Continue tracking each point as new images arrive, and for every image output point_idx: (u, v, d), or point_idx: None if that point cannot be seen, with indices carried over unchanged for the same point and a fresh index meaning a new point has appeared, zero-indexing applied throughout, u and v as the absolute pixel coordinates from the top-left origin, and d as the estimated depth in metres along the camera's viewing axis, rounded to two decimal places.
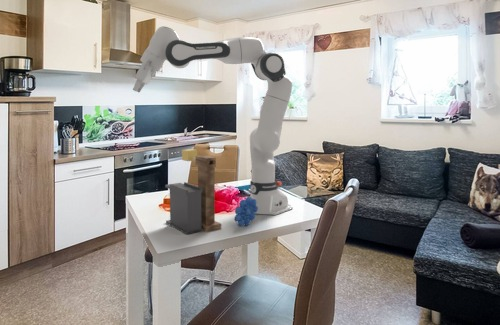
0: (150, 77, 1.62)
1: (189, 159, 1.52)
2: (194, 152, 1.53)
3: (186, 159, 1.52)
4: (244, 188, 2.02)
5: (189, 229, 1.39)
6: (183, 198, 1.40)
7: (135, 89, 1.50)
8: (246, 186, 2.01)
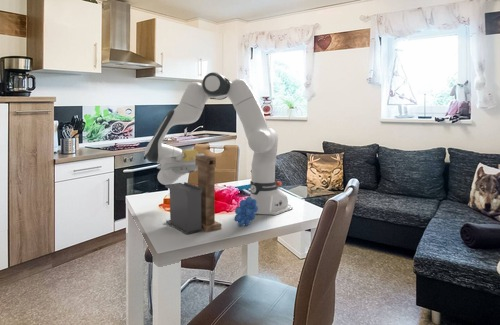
0: None
1: (189, 159, 1.52)
2: (194, 152, 1.53)
3: (186, 159, 1.52)
4: (244, 188, 2.03)
5: (189, 229, 1.39)
6: (183, 198, 1.40)
7: (182, 155, 1.52)
8: (246, 186, 2.02)
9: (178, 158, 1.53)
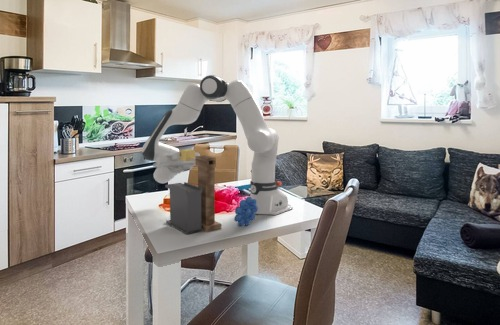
0: None
1: (187, 159, 1.53)
2: (192, 152, 1.54)
3: (184, 159, 1.53)
4: (244, 188, 2.03)
5: (189, 229, 1.39)
6: (183, 198, 1.40)
7: (177, 153, 1.55)
8: (246, 186, 2.02)
9: (173, 157, 1.56)
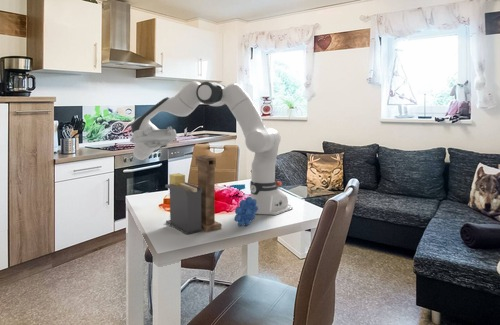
0: None
1: (176, 185, 1.46)
2: (182, 177, 1.47)
3: None
4: None
5: (189, 229, 1.39)
6: (183, 198, 1.40)
7: (148, 128, 1.62)
8: (234, 186, 2.01)
9: (145, 132, 1.63)
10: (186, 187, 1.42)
